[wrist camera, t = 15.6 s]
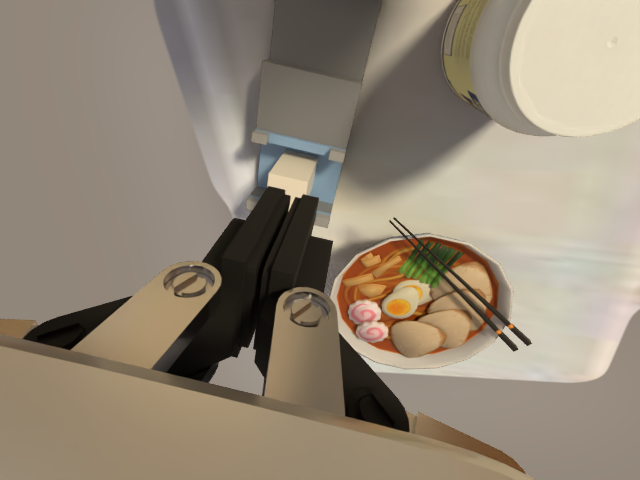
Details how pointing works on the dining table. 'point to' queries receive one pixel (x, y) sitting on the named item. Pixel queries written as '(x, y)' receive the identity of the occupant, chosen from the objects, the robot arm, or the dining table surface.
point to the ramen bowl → (423, 301)
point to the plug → (293, 174)
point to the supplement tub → (546, 63)
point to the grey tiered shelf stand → (313, 88)
